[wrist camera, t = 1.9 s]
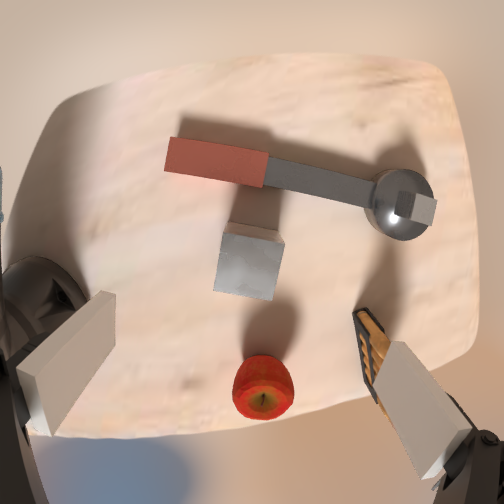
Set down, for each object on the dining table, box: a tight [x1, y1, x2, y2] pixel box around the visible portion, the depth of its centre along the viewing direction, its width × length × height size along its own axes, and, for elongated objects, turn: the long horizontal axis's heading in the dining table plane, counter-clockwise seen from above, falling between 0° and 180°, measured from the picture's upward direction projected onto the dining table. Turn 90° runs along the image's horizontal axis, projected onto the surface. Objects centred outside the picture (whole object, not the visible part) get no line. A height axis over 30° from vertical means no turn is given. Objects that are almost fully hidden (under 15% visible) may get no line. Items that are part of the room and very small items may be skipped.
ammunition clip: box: [352, 307, 395, 429], centre depth 29 cm, size 11×2×12 cm, turn 17°
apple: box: [232, 355, 294, 420], centre depth 31 cm, size 6×6×8 cm
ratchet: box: [164, 137, 437, 241], centre depth 27 cm, size 26×7×6 cm, turn 79°
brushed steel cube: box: [213, 221, 285, 301], centre depth 28 cm, size 5×5×6 cm
